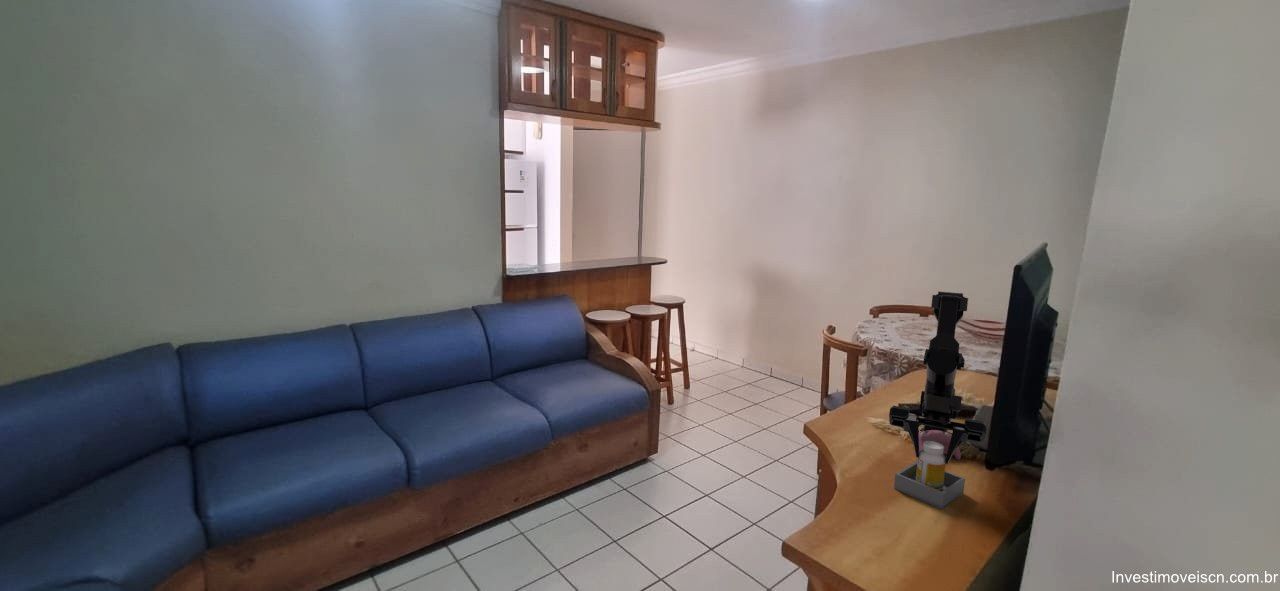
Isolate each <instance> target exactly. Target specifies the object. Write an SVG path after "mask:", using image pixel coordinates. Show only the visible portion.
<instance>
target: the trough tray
mask: <svg viewBox="0 0 1280 591" xmlns="http://www.w3.org/2000/svg"><path fill="white" fill-rule="evenodd" d="M917 462H918V460H916V461H915V462H912V463H911V464H910V465H908V466H906V467H904V468H903V469H901V470H899V471H898V472H896V473H895V474H894V485H893V489H894V490H897V491H899V492H901V493H903V494H906V495H908V496H911V497H913V498H915V499H918V500H919V501H921V502H924V503H926V504H928V505H931V506H933V507H935V508H937V509H940V510H943V509H944V508H945V507H947V506H948V505H950V504H951V503H952V502H953V501H955V500H956V499H958V498H959V497H960V496H961V495H963V494H964V492H965V491H964V490H965V482H966V478H965V477H962V476H960V475H957V474H955V473H952V472H949V471H947V470H945V474H944V483H943V488H942V490H940V491H938V490H936V489H934V488H931V487H929V486H927V485H924V484H922V483H919V482H917V481H916V471H917Z"/></svg>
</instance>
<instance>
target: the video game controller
mask: <svg viewBox="0 0 1280 591" xmlns="http://www.w3.org/2000/svg"><path fill="white" fill-rule="evenodd" d="M947 432H948V431H947ZM947 432H943V431H938V430H928V431H922V432H920V433H919V452H920V451H921V450H923V442H924V441H935V442H938V443H940V444H942V445H943V446H944V452H943V455H945V454H947V452H948V448H949V444H950V440H951V436H952V435H951V434H950V433H951V432H950V433H947ZM952 456H954V458H955V459H956V460H960V459H961V457H962V454H961V450H960V447H959V446H958V447H957V448H956V450H955V451H954V453H953V455H952Z"/></svg>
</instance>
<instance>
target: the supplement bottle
mask: <svg viewBox="0 0 1280 591" xmlns="http://www.w3.org/2000/svg"><path fill="white" fill-rule="evenodd" d="M943 452H944V446H943V445H942V444H940V443H938V442H935V441H924V442H923V450H921V451H920V452H919V456H918V458H917V461H918V462H917V471H916V481H917V482H919V483H922V484H924V485H927V486H929V487H931V488H934V489H936V490H938V491H940V490H942V488H943V483H944V474H945V471H946V465H947V464H946V456H945V454H943Z"/></svg>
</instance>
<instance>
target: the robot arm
mask: <svg viewBox="0 0 1280 591" xmlns="http://www.w3.org/2000/svg"><path fill="white" fill-rule="evenodd" d="M931 298H932V299H931V306H930V308H931V309H933V316H934V318H935V319H936V321H937V328H936V334H935V336H934V337H933V338H931V339H930V341H929V346H928V348H925V350H924V356H923V366H926V379H925V385H924V390H921V393H920V402H919V413H920V414H921V415H918V414H915V413H910V408H909V407H904V406H898V405H892V406H891V407H890V408H889V414H888V416H889V417H888V418H889V419H888V420H889V423H888V424H889V425H891V426H894V427H898V428H903V431H904V432H906V433H908V435H909V437H910V440H911V442H912V445H913V450H914V454H915V458H917V459H918V456H919V430H920V431H928V430H938V431H943V432H947V433H950V434H951V435H952V436H951V440H950V444H949V448H948V451H947V453H946V456H945V457H946V465H948V464H949V463H950V461H951V459H952V457H953V456H954V455H953V453H954V451H955V450H956V448H957V447H959V446H960V445H961V444H962V443H963V444H966V443H967V442H968V441H971V442H975V443H984V441H985V438H986V434H987V424H986V423H985V422H984V421H981V420H977V419H973V418H964V423H963V422H956V421H952V419H954V420H955V419H956V418H958V417H959V413H960V412H961V408H962V401H963V400H962V399H963V398H962V396H961V395H960V396H959V395H955V393H956V389H955V379H956V374H957V370H958V371H961V369H962V368H965V358H964V355H963V353H962V352H960V342H959V341H958V340H957V339H956V336H955V335H956V327H957V325H958V324H959V322H961V320H962V319H963V317H964V312H967V311H968V305H969V297H965V296H964V293H962V292H951V291H950V292H949V291H937V294H932V296H931ZM919 425H921V426H923V428H921V429H919ZM951 431H952V432H951Z"/></svg>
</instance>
